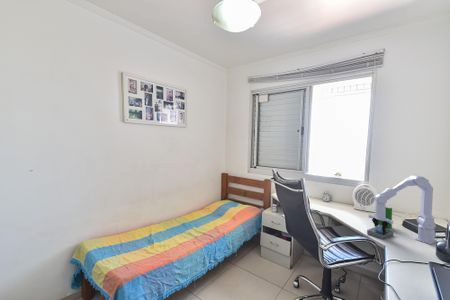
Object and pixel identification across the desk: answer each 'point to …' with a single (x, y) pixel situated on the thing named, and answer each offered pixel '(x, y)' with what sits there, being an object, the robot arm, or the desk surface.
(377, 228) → the servo
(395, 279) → the desk surface
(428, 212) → the robot arm
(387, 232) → the chassis
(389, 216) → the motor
